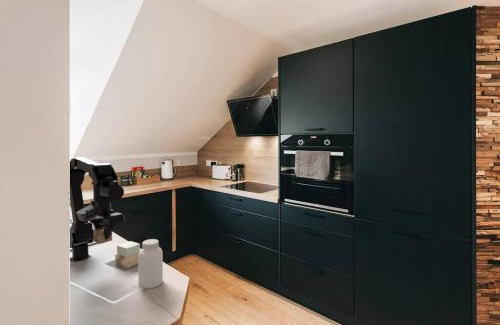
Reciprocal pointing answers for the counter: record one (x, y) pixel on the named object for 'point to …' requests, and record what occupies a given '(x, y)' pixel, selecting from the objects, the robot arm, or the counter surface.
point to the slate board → (112, 263)
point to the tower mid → (128, 249)
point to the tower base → (126, 260)
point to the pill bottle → (150, 264)
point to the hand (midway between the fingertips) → (103, 238)
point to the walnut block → (100, 236)
